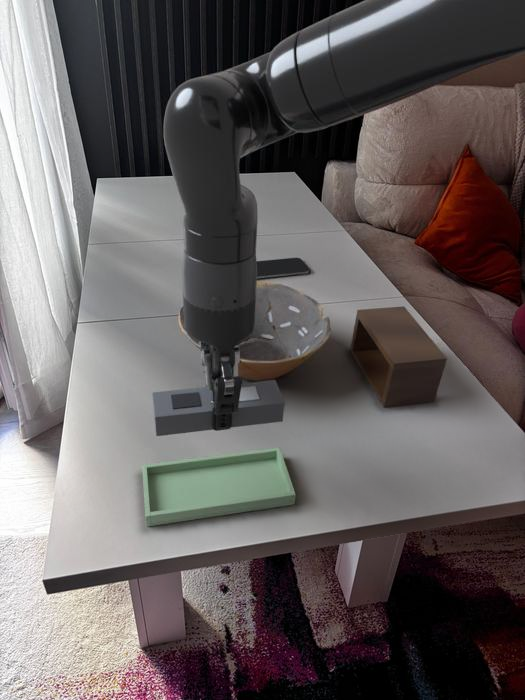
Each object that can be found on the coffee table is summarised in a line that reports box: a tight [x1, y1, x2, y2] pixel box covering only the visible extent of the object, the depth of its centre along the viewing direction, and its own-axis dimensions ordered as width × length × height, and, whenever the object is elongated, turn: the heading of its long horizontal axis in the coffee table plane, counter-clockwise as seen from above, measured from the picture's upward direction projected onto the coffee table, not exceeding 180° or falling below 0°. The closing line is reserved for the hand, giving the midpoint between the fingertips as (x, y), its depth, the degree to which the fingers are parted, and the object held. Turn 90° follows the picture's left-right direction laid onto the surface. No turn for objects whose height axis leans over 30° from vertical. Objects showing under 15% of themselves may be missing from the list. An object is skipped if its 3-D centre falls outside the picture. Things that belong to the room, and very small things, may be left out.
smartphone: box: [256, 257, 311, 280], centre depth 127 cm, size 7×1×15 cm
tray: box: [141, 447, 297, 527], centre depth 74 cm, size 19×9×2 cm, turn 103°
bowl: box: [178, 280, 332, 382], centre depth 95 cm, size 25×25×10 cm
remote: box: [151, 379, 285, 437], centre depth 66 cm, size 15×4×3 cm, turn 103°
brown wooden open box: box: [349, 305, 448, 408], centre depth 94 cm, size 16×9×9 cm, turn 13°
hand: (218, 413), depth 66 cm, fingers closed on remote, 4 cm apart
